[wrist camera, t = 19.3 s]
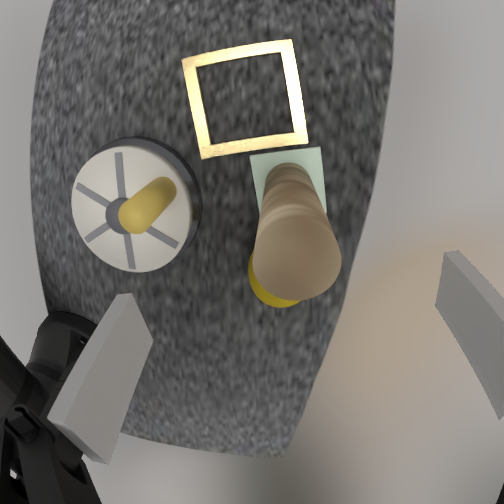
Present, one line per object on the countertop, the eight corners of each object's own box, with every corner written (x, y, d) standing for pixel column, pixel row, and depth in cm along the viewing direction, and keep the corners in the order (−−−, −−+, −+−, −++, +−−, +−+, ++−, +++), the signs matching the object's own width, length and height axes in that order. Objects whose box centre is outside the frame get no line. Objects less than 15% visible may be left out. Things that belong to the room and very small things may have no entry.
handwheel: (123, 280, 31) (92, 325, 24) (60, 187, 26) (13, 216, 20) (217, 234, 28) (199, 280, 21) (147, 118, 23) (103, 129, 16)
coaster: (260, 218, 28) (260, 220, 28) (249, 155, 26) (249, 155, 25) (325, 211, 28) (326, 212, 27) (319, 146, 25) (320, 147, 24)
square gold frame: (203, 157, 26) (201, 159, 25) (184, 60, 22) (181, 59, 21) (307, 141, 25) (308, 143, 24) (290, 41, 21) (291, 39, 20)
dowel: (269, 209, 27) (260, 304, 15) (261, 165, 26) (244, 228, 13) (313, 203, 27) (342, 295, 14) (308, 159, 25) (339, 216, 13)
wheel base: (106, 266, 32) (101, 272, 31) (69, 156, 26) (62, 159, 25) (215, 253, 30) (213, 259, 29) (184, 121, 24) (180, 122, 23)
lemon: (300, 276, 31) (306, 330, 24) (246, 266, 31) (238, 318, 24) (315, 227, 28) (328, 273, 21) (257, 215, 28) (251, 258, 21)
